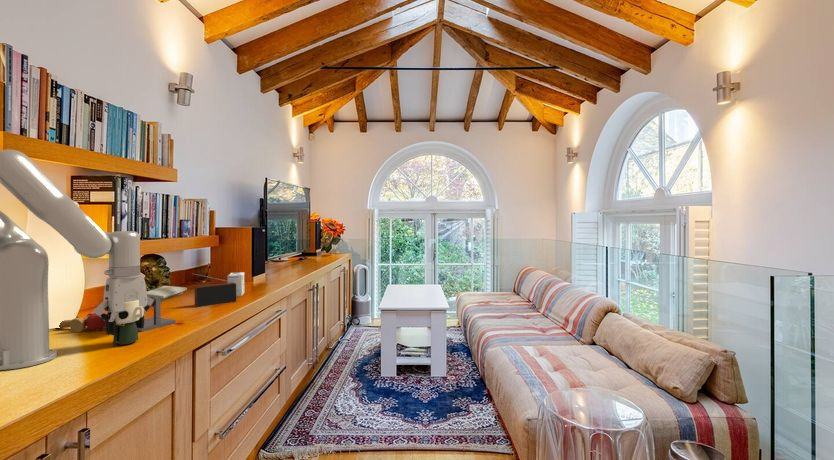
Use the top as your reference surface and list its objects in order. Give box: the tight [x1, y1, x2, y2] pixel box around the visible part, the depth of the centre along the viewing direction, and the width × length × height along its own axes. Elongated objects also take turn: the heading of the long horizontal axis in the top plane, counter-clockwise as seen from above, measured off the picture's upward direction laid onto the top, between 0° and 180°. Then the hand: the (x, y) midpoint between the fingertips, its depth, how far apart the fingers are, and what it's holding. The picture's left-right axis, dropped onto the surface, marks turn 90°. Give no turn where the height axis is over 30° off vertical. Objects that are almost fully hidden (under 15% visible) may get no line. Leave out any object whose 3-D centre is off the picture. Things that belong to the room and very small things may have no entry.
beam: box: [103, 285, 188, 311], centre depth 137 cm, size 22×12×3 cm, turn 158°
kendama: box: [59, 312, 106, 333], centre depth 133 cm, size 8×6×18 cm
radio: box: [190, 272, 237, 308], centre depth 174 cm, size 19×3×15 cm, turn 136°
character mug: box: [112, 300, 145, 345], centre depth 117 cm, size 11×7×13 cm, turn 88°
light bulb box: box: [227, 271, 245, 297], centre depth 196 cm, size 11×7×11 cm, turn 17°
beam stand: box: [137, 297, 177, 333], centre depth 138 cm, size 12×12×10 cm
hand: (125, 330), depth 117 cm, fingers closed on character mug, 7 cm apart
